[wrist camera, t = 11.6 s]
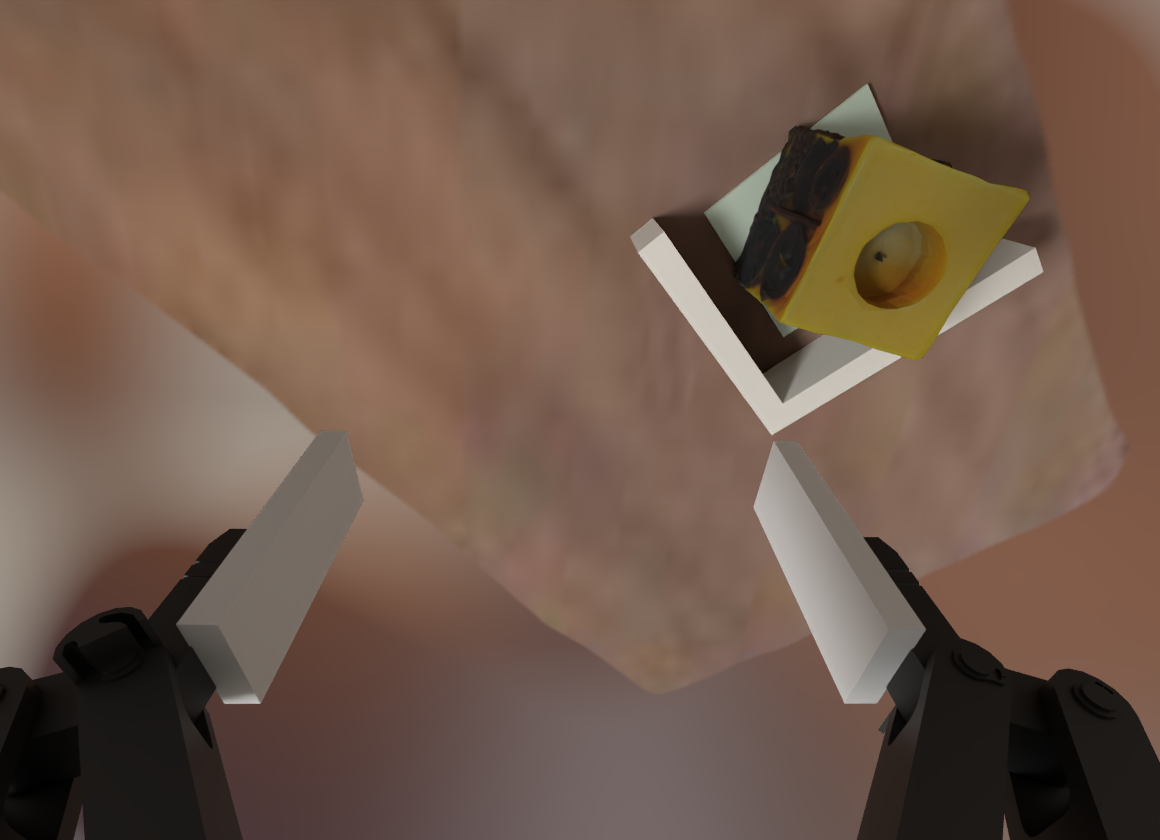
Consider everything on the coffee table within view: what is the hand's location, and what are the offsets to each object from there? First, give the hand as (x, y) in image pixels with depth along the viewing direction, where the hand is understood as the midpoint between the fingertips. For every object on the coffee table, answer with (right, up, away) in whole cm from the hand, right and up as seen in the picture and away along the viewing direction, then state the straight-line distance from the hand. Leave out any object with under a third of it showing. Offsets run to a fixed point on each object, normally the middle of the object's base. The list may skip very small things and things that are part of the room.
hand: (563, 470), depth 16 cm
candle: (+18, +16, +20) cm, 31 cm away
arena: (+17, +15, +21) cm, 31 cm away
